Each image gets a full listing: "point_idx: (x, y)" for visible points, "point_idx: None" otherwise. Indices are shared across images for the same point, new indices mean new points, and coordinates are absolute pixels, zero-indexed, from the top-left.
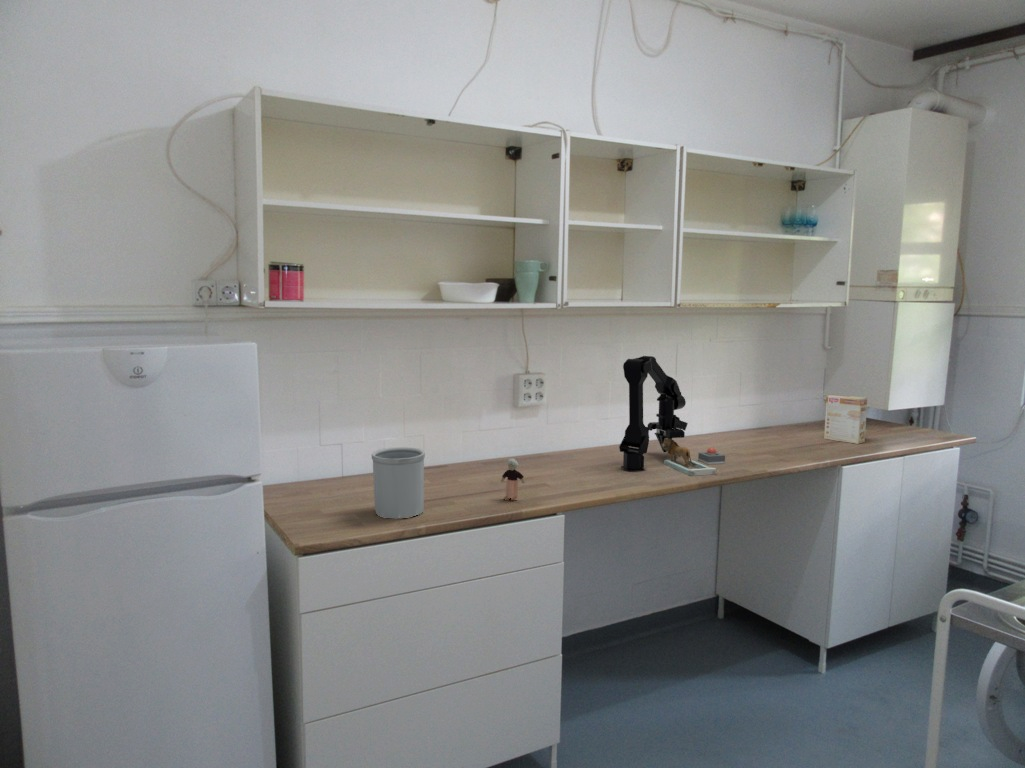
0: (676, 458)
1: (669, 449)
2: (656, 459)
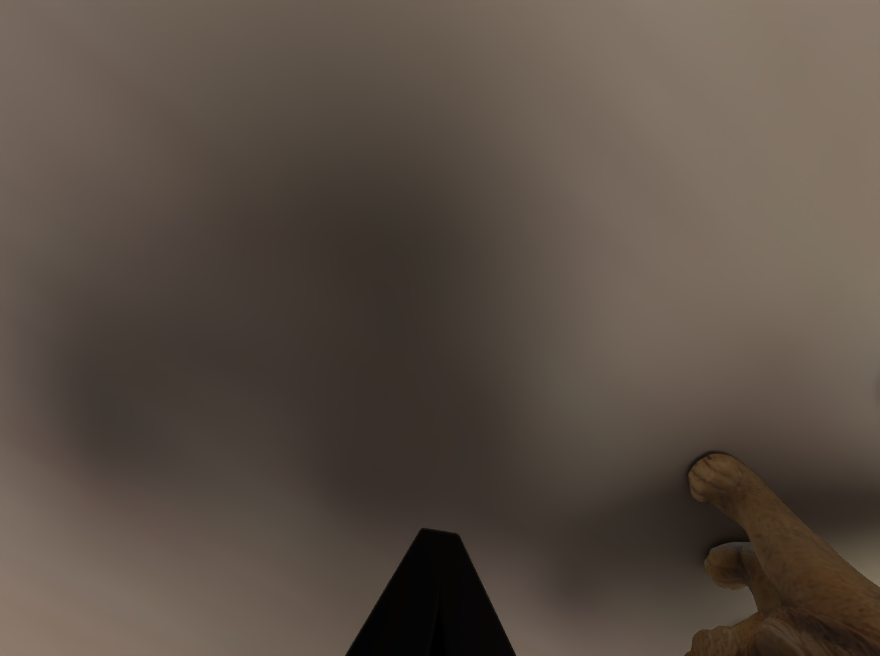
0: (791, 516)
1: None
2: None
